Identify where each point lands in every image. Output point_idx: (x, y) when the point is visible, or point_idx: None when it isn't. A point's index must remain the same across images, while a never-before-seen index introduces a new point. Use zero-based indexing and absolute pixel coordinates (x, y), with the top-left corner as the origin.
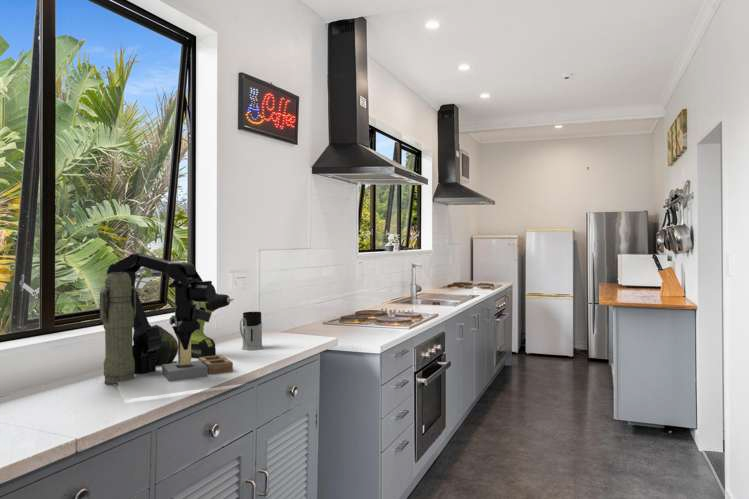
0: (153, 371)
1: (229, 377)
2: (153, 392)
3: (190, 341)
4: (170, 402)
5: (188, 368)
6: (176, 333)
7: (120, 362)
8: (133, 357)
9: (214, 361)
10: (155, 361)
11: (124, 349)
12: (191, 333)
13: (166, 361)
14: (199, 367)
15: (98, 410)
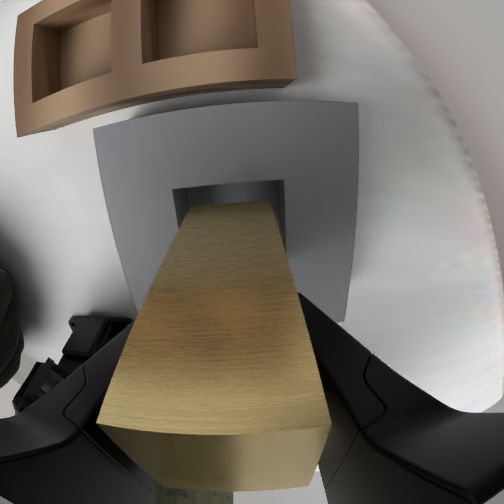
0: (113, 327)
1: (337, 4)
2: (399, 327)
3: (300, 319)
4: (499, 284)
5: (332, 223)
6: (153, 486)
7: None
8: None
9: (143, 27)
10: (90, 349)
11: (226, 494)
12: (461, 418)
13: (3, 276)
14: (342, 153)
15: (435, 394)
